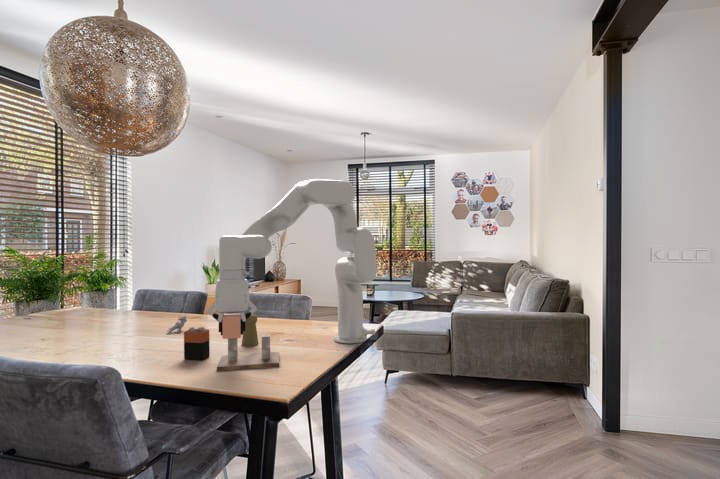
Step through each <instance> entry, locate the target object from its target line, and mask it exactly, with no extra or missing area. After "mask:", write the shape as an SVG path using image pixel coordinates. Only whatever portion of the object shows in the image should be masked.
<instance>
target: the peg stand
mask: <svg viewBox="0 0 720 479" xmlns="http://www.w3.org/2000/svg"><path fill="white" fill-rule="evenodd" d="M238 345H239V344H238V338H231V339H227V354H224V355H221V356H220V359H219V360H218V363H217V366H216V372H222V371H223V372H224V371H236V370H237V371H238V370H252V369H264V368H265V369H266V368H267V369H268V368H280V352H279V351H274V352H271V334H261V352H257V353H243V354H242V353H241V354H238V352H239V351H238V348H239V346H238Z"/></svg>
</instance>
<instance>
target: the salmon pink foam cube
mask: <svg viewBox="0 0 720 479" xmlns="http://www.w3.org/2000/svg"><path fill="white" fill-rule="evenodd" d="M241 319H242V318H241V315H240V312H236V313H224V315H223V317H222V327H223V336H222V340H225V339H226V340H228V339H231V338H237V339H241V338H242V335H241Z"/></svg>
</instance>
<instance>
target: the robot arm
mask: <svg viewBox="0 0 720 479" xmlns="http://www.w3.org/2000/svg"><path fill="white" fill-rule="evenodd" d="M355 196H356V190H355V187H354V185H353V184H351V183H350V182H349V181H347V180H339V179H338V180H337V179H321V178H313V179H308V180H303V181H299V182H298V183H296V184H295V185H294V186H293V187H292V188H291V189H290V190H289V191H288V192H286V194H285V195H284V196H283V197H282V199H281V200H279V202H277V203H276V204H275V206H273V207H272V208H271V209H270V210H268V211H267V212H266V213H265V214H263V215H262V216H261V217H260V218H258V219H257V220H256V221H254V222H253V223H252V224H251V225H249V227H247V229H246V230H245V231H244V232H243V233H241V235H222V236H221V237H220V238H219V242H218V245H219V248H218V249H219V250H218V252H219V254H218V256H219V258H218V260H219V268H218V269H219V270H218V271H219V274H218V275H219V276H218V278H219V279H217V280H216V283H215V284H216V285H215V292H214V293H215V294H214V302H213V303H212V304H211V305H210V307H208V309H207V310H206V313H207V314H208V315H210V316H211V317H212V318H214V319H215V320H216V322H218V333H220V336H221V337H223V327H222V317H223V315H224V314H234V313H240V315H241V318H242V319H241V336H243V331H246V320H247V319H248V318H249V317H250V316H251V315H252V314H254V313H256V312H257V310H258V309H257V306H255V304H254V303H253V302H252V301H251V300H250V286H249V282H248V279H247V278H246V277H248V276H249V277H250V271H249V270H248V271H247V270H246V269H245V268H246V264H245V263H246V261H245V260H246V258H248V259H249V258H250V259H256V260H258V259H263V258H266V257H267V256H268V255H269V254H270V253H271V251H272V248H273V247H272V242H271V240H270V238H271V237H272V236H273V235H275V234H278V233H279V232H281V231H284V230H287V229H288V228H290V227H292V226H293V225H294V224H295V223H297V221H298V219H300V218H301V216H303V214H304V213H305V212H306V211H307V210H308V208H310V207H311V206H312V205H323V206H324V207H325V208H327V209H328V210H329V212H330V213H331V216H332V218H333V224H334V233H335V234H334V236H335V243H336V245H335V246H336V247H337V250H338V251H339V252H341V253H344V254H353V256H348V255H347V256H344V257H341V258H340V259H338V261H337V262H336V263H335V267H334V274H335V279H336V285H337V334H336V335H334V336H333V341H334V342H336V343H338V344H339V343H340V344H359V343H360V344H361V343H364V342H366V341H367V340H368V335H376V329H375V328H372V329H371V328H365V327H364V309H363V308H364V305H363V304H364V302H363V301H364V300H363V299H364V298H363V297H364V293H363V288H362V285H361V284H369V283H372V281H374V280H375V278H376V276H377V271H378V268H377V267H378V266H377V253H376V244H375V243H376V242H375V239H374V235H373V234H372V232H371V231H370V230H369V229H367V228H365V227H358V223H357V222H358V221H357V214H356V211H355V208H354V207H353V205H352V202H353V201H354V199H355ZM249 309H250V310H249ZM248 310H249V311H248Z"/></svg>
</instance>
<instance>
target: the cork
mask: <svg viewBox="0 0 720 479" xmlns="http://www.w3.org/2000/svg"><path fill="white" fill-rule="evenodd" d="M257 322H258V316H257V314H254V313H253V314H252V315H251V316H250V317H249V318H248V319H247V320H246V331H243V335H242V337H241V338H242V340H241V346H242V347H245V348H246V347H248V348H249V347H256V346H258V345H259V337H258V329H257V324H256V323H257Z"/></svg>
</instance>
